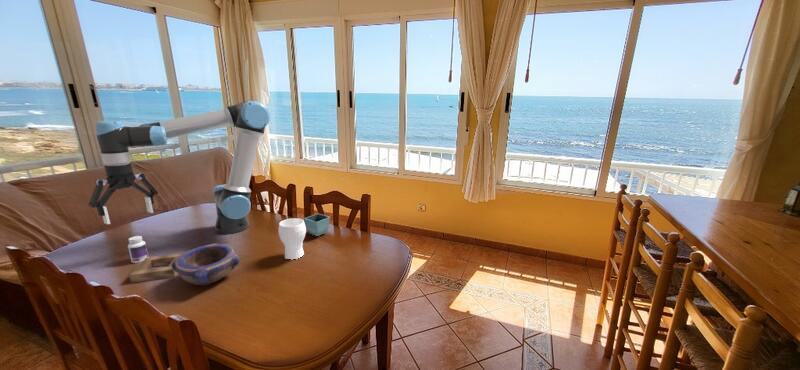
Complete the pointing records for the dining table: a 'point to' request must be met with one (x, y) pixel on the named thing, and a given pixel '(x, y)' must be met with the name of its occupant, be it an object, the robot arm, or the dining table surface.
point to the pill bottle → (137, 249)
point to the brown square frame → (147, 273)
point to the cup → (292, 237)
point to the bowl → (206, 264)
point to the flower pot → (317, 224)
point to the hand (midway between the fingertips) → (130, 217)
